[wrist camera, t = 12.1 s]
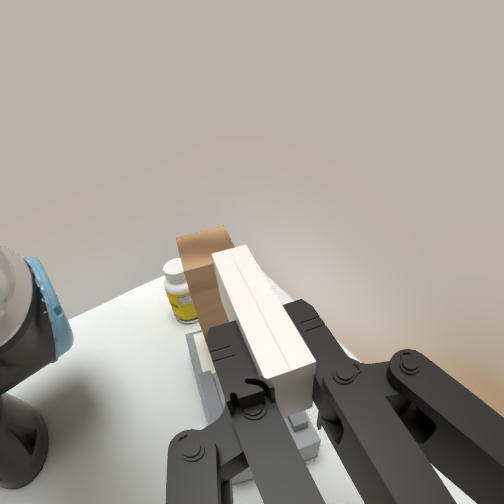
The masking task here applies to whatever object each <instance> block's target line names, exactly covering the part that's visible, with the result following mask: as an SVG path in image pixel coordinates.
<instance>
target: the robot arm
mask: <svg viewBox="0 0 504 504" xmlns="http://www.w3.org/2000/svg"><path fill="white" fill-rule="evenodd" d="M212 259H213V264H214V268H215V273H216V278H217V283H218V287H219V292H220V296H221V301H222V304H223V307H224V309H225V312H226V314H227V317H228V320H229V322H228V323H224V324H221V325H217V326H214V327H210V328H209V330H208V334H207V339H206V340H207V344H208V347H209V350H210V353H211V357H212V360H213V363H214V366H215V369H216V372H217V376H218V379H219V382H220V385H221V388H222V391H223V394H224V398H225V408H224V410H223V412H222V414H221V415H220V417H219V418H218V419H217V420H216V421H214V422H213V423H212V424H210V425H209V426H207V427H205V428H204V429H202V430H194V429H190V430H186V431H182V432H181V433H179V434H177V435H176V436H175V437H174V438H173V439H172V441H171V442H170V445H169V448H168V460H167V484H166V504H233V491H232V478H233V477H235V476H236V475H238V474H239V473H241V472H242V471H244V470H245V469H247V468H248V467H250V469H251V472H252V475H253V477H254V480H255V482H256V485H257V487H258V490H259V492H260V495H261V497H262V500H263V502H264V504H325V502H324V500H323V498H322V496H321V494H320V492H319V490H318V488H317V486H316V484H315V482H314V480H313V478H312V476H311V474H310V472H309V470H308V468H307V466H306V464H305V462H304V460H303V458H302V456H301V454H300V452H299V450H298V447H297V445H296V443H295V441H294V439H293V437H292V435H291V433H290V431H289V429H288V427H287V424H286V422H285V420H284V418H285V417H288V416H290V415H293V414H296V413H298V412H301V411H304V410H306V409H309V408H311V407H312V405H313V401H314V403H315V405H316V406H317V408H318V410H319V412H318V419H317V427H318V430H319V429H321V427H322V426H323V428H324V430H325V432H326V434H327V436H328V437H329V439H330V441H331V443H332V445H333V447H334V449H335V450H336V452H337V454H338V456H339V458H340V460H341V461H342V463H343V465H344V467H345V469H346V470H347V472H348V474H349V476H350V478H351V480H352V481H353V483H354V485H355V487H356V489H357V490H358V492H359V494H360V496H361V498H362V499H363V501H364V503H365V504H457V503H456V502H455V500H454V499H453V497H452V496H451V494H450V493H449V491H448V490H447V488H446V486H445V485H444V483H443V482H442V480H441V479H440V477H439V476H438V474H437V473H436V471H435V470H434V468H433V467H432V465H433V466H434V467H435V468H436V469H438V470H439V471H440V472H441V473H442V474H443V475H444V476H446V477H447V478H448V479H449V480H450V481H451V482H453V483H454V484H455V485H456V486H457V487H458V488H460V489H461V490H462V491H463V492H464V493H465V494H467V495H468V496H469V497H470V498H471V499H472V500H474V501H475V502H476V503H477V504H504V418H503V417H502V416H501V415H499V414H498V413H497V412H496V411H494V410H493V409H492V408H491V407H489V406H488V405H487V404H486V403H484V402H483V401H482V400H480V399H479V398H478V397H477V396H475V395H474V394H473V393H472V392H470V391H469V390H468V389H467V388H465V387H464V386H463V385H461V384H460V383H459V382H458V381H456V380H455V379H454V378H452V377H451V376H450V375H449V374H447V373H446V372H445V371H443V370H442V369H441V368H440V367H438V366H437V365H436V364H434V363H433V362H432V361H430V360H429V359H428V358H427V357H425V356H424V355H423V354H421V353H419V352H417V351H416V350H410V349H405V350H400V351H398V352H397V353H395V354H394V355H393V357H392V358H391V360H390V361H388V362H382V363H373V364H364V363H359V362H358V361H356V360H354V359H352V358H349V357H348V356H347V354H346V353H345V352H344V351H343V349H342V348H341V346H340V345H339V343H338V342H337V341H336V339H335V338H334V336H333V335H332V333H331V332H330V330H329V329H328V328H327V326H325V323H324V322H323V320H322V319H321V318H320V317H319V315H318V313H317V312H316V311H315V309H314V308H313V306H311V305H310V304H308V303H307V302H305V301H303V300H302V299H300V300H297V301H294V302H291V303H287V304H284V305H282V304H281V302H280V301H279V299H278V297H277V296H276V294H275V292H274V291H273V289H272V287H271V286H270V284H269V282H268V281H267V279H266V277H265V276H264V274H263V272H262V271H261V269H260V267H259V266H258V264H257V262H256V261H255V259H254V258H253V256H252V254H251V252H250V251H249V249H248V247H247V246H246V245H243V246H239V247H235V248H231V249H227V250H224V251H220V252H216V253H212ZM73 340H74V338H73V333H72V330H71V327H70V325H69V322H68V320H67V318H66V316H65V313H64V311H63V310H62V308H61V305H60V303H59V301H58V298H57V295H56V293H55V291H54V289H53V287H52V284H51V283H50V280H49V278H48V276H47V274H46V272H45V270H44V268H43V266H42V264H41V262H40V261H39V260H38V258H37V257H29V258H24V259H23V258H22V257H21V256H20V255H19V254H18V253H17V252H15V251H14V250H12V249H10V248H6V247H1V246H0V486H1V487H4V488H8V489H15V488H19V487H22V486H24V485H26V484H28V483H29V482H30V481H32V480H33V479H34V478H35V477H36V475H37V474H38V473H39V471H40V470H41V468H42V466H43V464H44V461H45V458H46V455H47V449H48V434H47V429H46V426H45V423H44V421H43V419H42V418H41V416H40V415H39V414H38V413H37V412H36V411H35V410H34V409H33V408H32V407H31V406H30V405H28V404H27V403H26V402H24V401H22V400H20V399H18V398H16V397H14V396H12V395H10V394H8V393H5V392H7V391H8V390H10V389H11V388H13V387H14V386H16V385H17V384H19V383H21V382H22V381H24V380H25V379H27V378H28V377H30V376H31V375H33V374H34V373H36V372H37V371H39V370H40V369H42V368H43V367H45V366H47V365H48V364H50V363H54V362H56V361H57V360H58V358H59V357H60V356H61V355H63V354H64V353H65V352H67V351H68V350H69V349H70V348H71V347H72V345H73ZM430 463H431V464H432V465H431V464H430Z"/></svg>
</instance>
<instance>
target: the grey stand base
mask: <svg viewBox="0 0 504 504" xmlns="http://www.w3.org/2000/svg"><path fill="white" fill-rule="evenodd" d="M186 339H187V344H188V348H189V352H190V356H191V361H192V365H193V369H194V373H195V377H196V380H197V384H198V388H199V392H200V396H201V399H202V403H203V407H204V410H205V414H206V418H207V421H208V425H210V424H212V423H213V422H214V421H216V420H217V419H218V418H219V417H220V415H221V414H222V412H223V410H224V408H225V398H224V394H223V391H222V388H221V385H220V382H219V379H218V376H217V372H216V371H215V368H214V365H213V362H212V359H211V356H210V353H209V350H208V347H207V344H206V341H205V338H204V335H203V332H202V330H200V331H197V332H193V333H189V334H186ZM284 420H285V422H286V424H287V427H288V429H289V431H290V433H291V435H292V437H293V439H294V441H295V443H296V445H297V447H298V450H299V452H300V454H301V456H302V458H303V460H304V461H306V460H308V459H311V458H313V457H316V456H318V451H319V446H320V439H319V437H318V435H317V433H316V431H315V429H314V427H313V425H312V423H311V421H310V419H309V417H308V415H307V413H306V412H305V410H304V411H301V412H298V413H296V414H293V415H290V416H288V417H285V418H284ZM250 479H254V477H253V475H252V472H251V469H250V467H248V468H247V469H245V470H244V471H242V472H241V473H239V474H238V475H236V476H235V477H233V478H232V485H233V484H236V483H240V482H243V481H247V480H250Z"/></svg>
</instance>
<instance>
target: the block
mask: <svg viewBox="0 0 504 504" xmlns="http://www.w3.org/2000/svg"><path fill="white" fill-rule="evenodd" d="M176 240H177V245H178V249H179V254H180V258H181V262H182V266H183V271H184V274H185V278H186V281H187V284H188V288H189V291H190V294H191V297H192V301H193V304H194V307H195V310H196V314H197V317H198V320H199V323H200V326H201V329H202V332H203V335H204V338H205V341H206V344H207V340H206V339H207V334H208V330H209V328H210V327H214V326H217V325H221V324H224V323H228V322H229V320H228V317H227V314H226V312H225V309H224V307H223V304H222V301H221V296H220V292H219V287H218V283H217V278H216V273H215V268H214V264H213V259H212V253H216V252H220V251H224V250H227V249H231V248H235V247H234V245H233V243H232V241H231V239H230V237H229V235H228V233H227V231H226V229H225V228H224V226H219V227H216V228H212V229H208V230H204V231H200V232H197V233H193V234H189V235H185V236H182V237H178V238H176ZM207 347H208V344H207ZM208 350H209V347H208ZM209 353H210V350H209ZM210 356H211V353H210ZM211 359H212V357H211ZM212 362H213V360H212ZM213 365H214V363H213ZM214 368H215V366H214ZM215 371H216V369H215Z"/></svg>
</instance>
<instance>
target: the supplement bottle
mask: <svg viewBox="0 0 504 504" xmlns="http://www.w3.org/2000/svg"><path fill="white" fill-rule="evenodd" d="M163 271H164V274H165V277H166V278H165V281H164V287H165V290H166V293H167V296H168V298H169V301H170V304H171V306H172V309H173V311H174V314H175V316H176V318H177V319H178V320H179V321H180V322H182V323H194V322H197V321H199V320H198V317H197V314H196V310H195V307H194V304H193V301H192V297H191V294H190V291H189V288H188V284H187V281H186V278H185V274H184V271H183V266H182V262H181V258H175V259H172V260H170V261H168V262H167V263H166V264H165V265H164V267H163Z"/></svg>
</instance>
